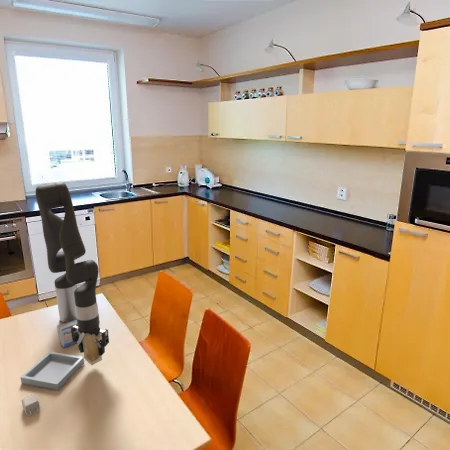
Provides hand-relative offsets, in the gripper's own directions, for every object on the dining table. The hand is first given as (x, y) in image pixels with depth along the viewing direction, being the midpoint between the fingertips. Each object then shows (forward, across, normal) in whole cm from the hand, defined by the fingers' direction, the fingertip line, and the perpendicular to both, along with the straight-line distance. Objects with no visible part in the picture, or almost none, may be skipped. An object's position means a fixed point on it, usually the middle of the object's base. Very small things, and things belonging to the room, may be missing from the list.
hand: (92, 352), depth 131 cm
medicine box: (+7, +19, -13) cm, 24 cm away
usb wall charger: (+7, +7, +23) cm, 25 cm away
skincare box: (+3, 0, 0) cm, 3 cm away
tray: (+7, +13, +6) cm, 16 cm away
